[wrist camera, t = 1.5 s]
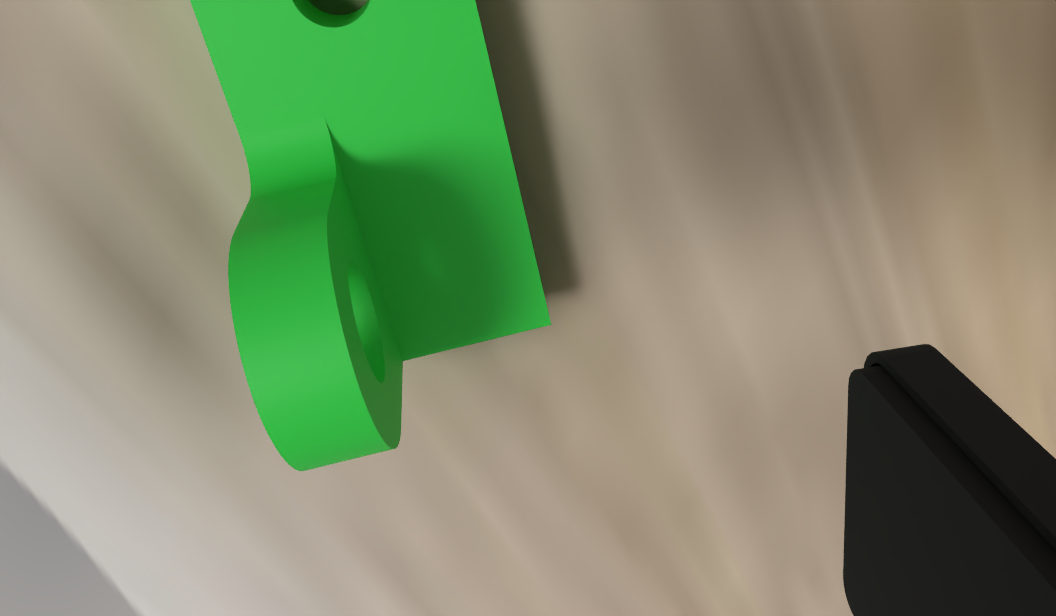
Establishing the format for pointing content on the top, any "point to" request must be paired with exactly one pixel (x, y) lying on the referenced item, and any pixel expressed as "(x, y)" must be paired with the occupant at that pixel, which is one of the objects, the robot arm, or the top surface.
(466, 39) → the mechanical part
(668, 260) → the top surface
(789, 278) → the top surface
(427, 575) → the top surface
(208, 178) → the top surface
